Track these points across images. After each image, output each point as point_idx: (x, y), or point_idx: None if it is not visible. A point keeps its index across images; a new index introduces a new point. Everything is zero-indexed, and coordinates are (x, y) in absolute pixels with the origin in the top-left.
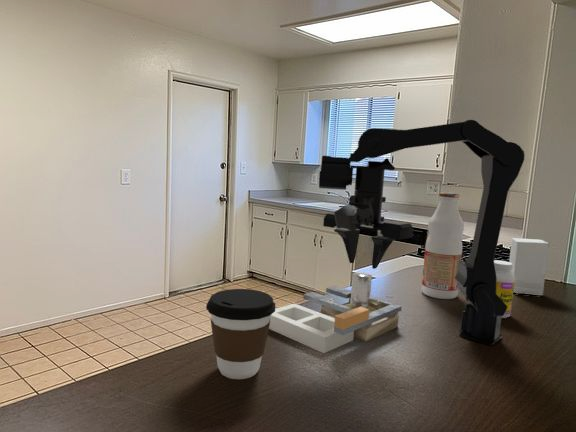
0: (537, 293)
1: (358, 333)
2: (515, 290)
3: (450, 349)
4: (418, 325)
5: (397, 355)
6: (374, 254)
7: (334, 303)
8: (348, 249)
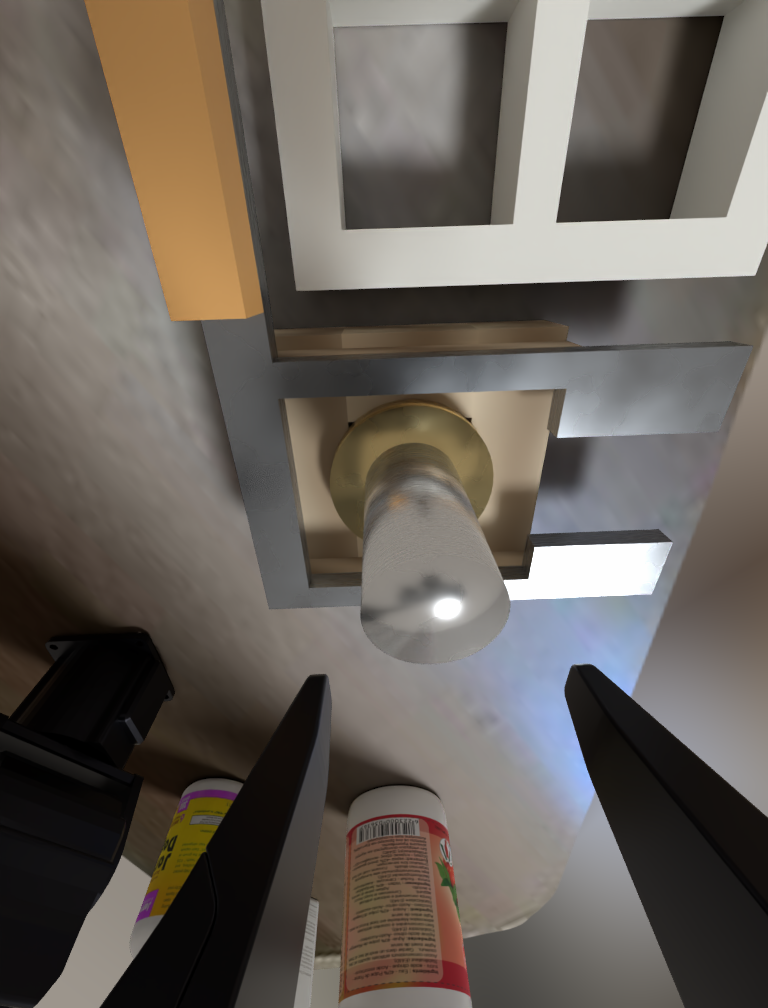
0: None
1: (306, 330)
2: None
3: (73, 531)
4: (273, 611)
5: (95, 321)
6: (254, 837)
7: (506, 374)
8: (704, 805)
